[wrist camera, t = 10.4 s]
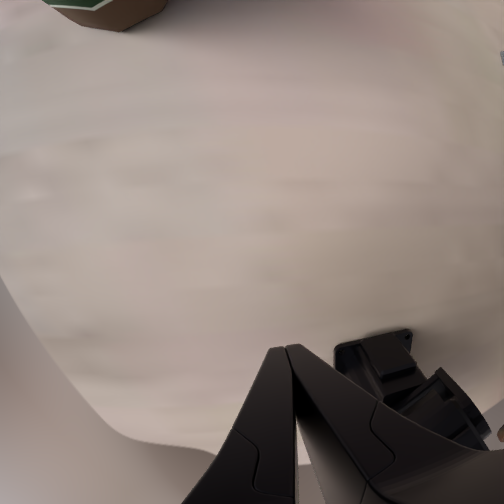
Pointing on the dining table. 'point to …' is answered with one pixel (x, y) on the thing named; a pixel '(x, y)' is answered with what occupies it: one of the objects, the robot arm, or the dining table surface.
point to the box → (503, 55)
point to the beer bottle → (107, 12)
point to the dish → (501, 434)
